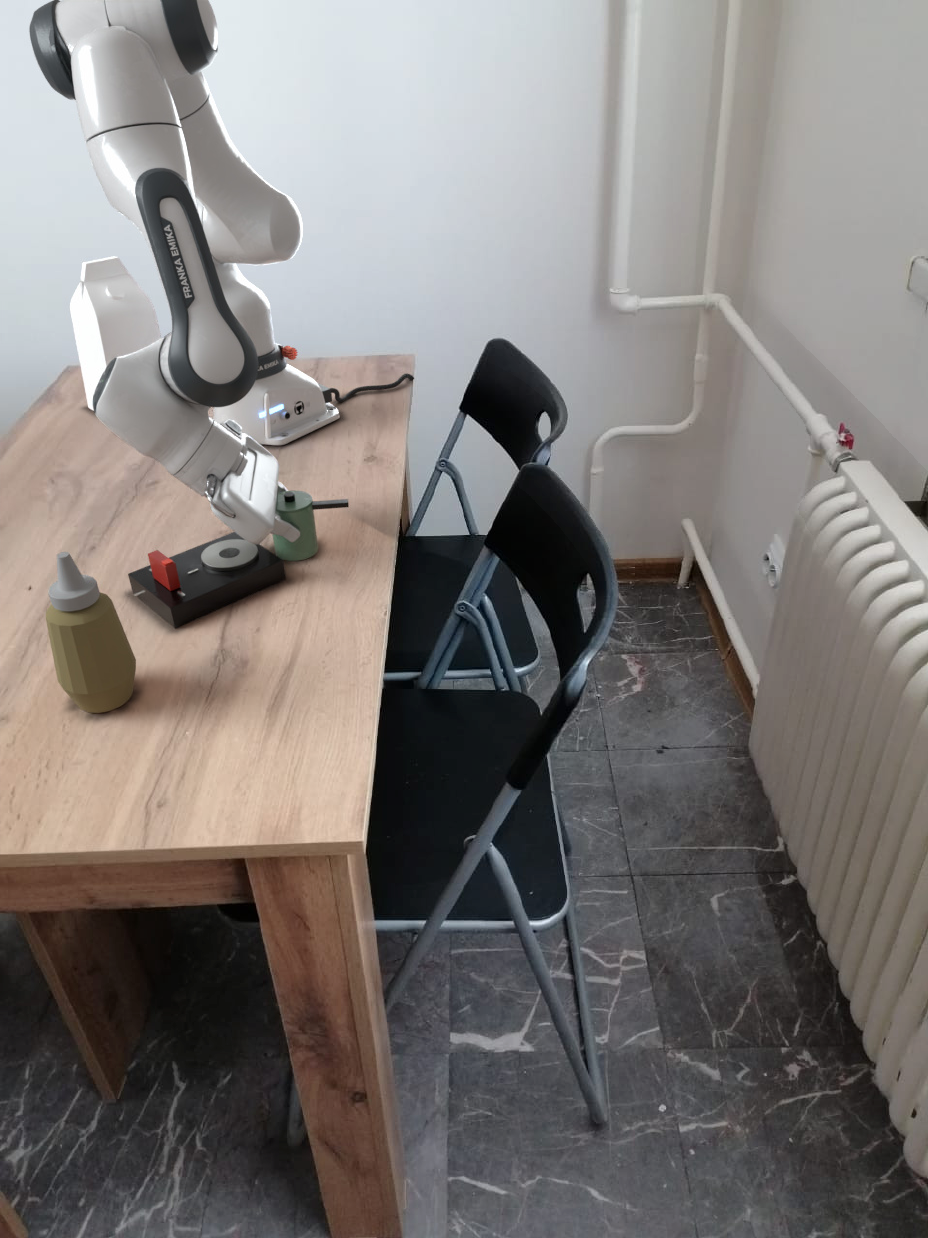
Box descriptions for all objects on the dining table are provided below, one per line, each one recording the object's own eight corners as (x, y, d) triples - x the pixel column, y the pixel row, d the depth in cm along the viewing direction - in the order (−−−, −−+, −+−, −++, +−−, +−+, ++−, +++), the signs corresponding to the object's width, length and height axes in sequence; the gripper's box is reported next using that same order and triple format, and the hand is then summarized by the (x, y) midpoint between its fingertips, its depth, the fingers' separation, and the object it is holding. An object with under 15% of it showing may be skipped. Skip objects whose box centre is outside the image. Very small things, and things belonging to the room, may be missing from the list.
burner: (239, 537, 126) (238, 533, 125) (269, 557, 121) (268, 552, 121) (191, 556, 122) (190, 552, 121) (220, 577, 117) (219, 573, 117)
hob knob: (153, 577, 117) (146, 551, 115) (163, 573, 118) (157, 547, 116) (170, 591, 115) (164, 565, 112) (181, 587, 115) (175, 561, 113)
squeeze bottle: (77, 677, 106) (33, 537, 96) (150, 672, 106) (113, 532, 96) (57, 723, 99) (7, 578, 89) (135, 718, 100) (94, 573, 89)
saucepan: (322, 526, 134) (316, 472, 129) (356, 546, 129) (351, 490, 124) (266, 550, 129) (257, 494, 124) (299, 571, 124) (291, 514, 119)
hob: (240, 549, 129) (237, 529, 127) (286, 579, 122) (283, 558, 120) (119, 599, 119) (113, 578, 117) (161, 635, 112) (155, 613, 110)
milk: (147, 390, 180) (117, 248, 165) (178, 405, 173) (149, 258, 158) (88, 407, 173) (51, 260, 158) (118, 424, 166) (82, 272, 152)
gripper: (219, 479, 110) (311, 545, 117) (233, 413, 127) (313, 474, 133) (187, 515, 112) (280, 579, 119) (205, 446, 129) (286, 505, 136)
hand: (298, 523), depth 126 cm, fingers closed on saucepan, 6 cm apart
